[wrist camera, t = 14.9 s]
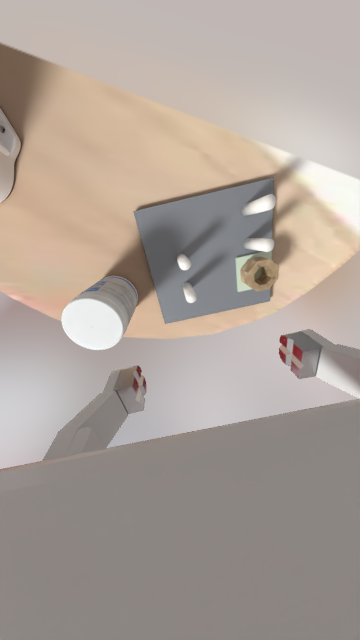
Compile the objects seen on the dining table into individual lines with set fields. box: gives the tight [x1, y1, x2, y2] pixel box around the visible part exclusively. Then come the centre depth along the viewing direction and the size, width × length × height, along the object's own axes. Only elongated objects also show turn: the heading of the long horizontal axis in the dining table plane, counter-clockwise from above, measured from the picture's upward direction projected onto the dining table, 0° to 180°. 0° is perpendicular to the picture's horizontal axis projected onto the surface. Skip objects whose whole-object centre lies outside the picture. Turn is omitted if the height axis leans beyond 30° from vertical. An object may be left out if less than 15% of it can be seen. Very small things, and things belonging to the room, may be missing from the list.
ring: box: [240, 257, 279, 292], centre depth 36 cm, size 6×6×4 cm
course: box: [134, 178, 276, 324], centre depth 33 cm, size 24×26×9 cm
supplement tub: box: [61, 276, 138, 350], centre depth 33 cm, size 10×10×15 cm
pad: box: [235, 250, 272, 292], centre depth 38 cm, size 8×8×1 cm
